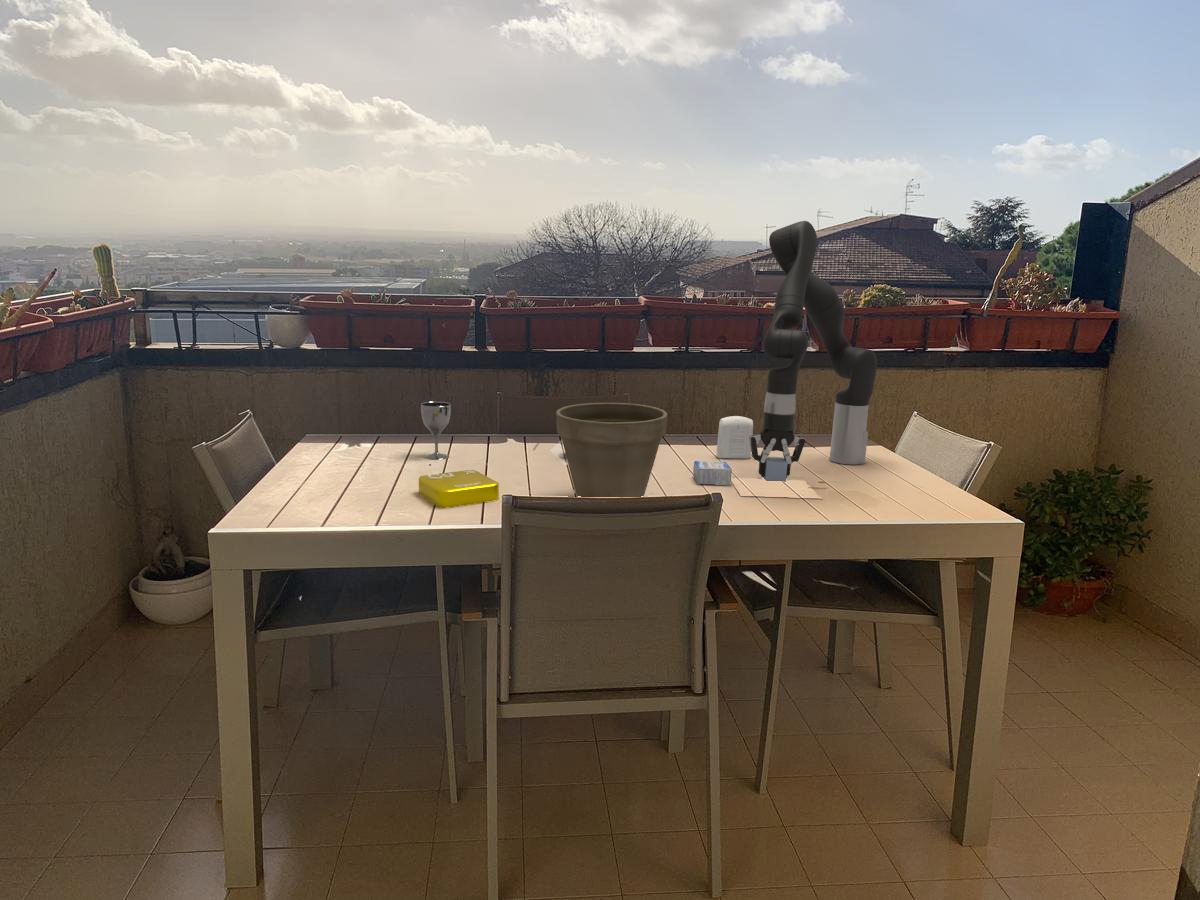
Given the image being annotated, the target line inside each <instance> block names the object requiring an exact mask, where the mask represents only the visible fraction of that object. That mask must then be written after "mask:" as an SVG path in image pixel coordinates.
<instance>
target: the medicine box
mask: <svg viewBox="0 0 1200 900" xmlns="http://www.w3.org/2000/svg"><path fill="white" fill-rule="evenodd" d="M732 470H733V469H732V467H731V466H730V465H729V463H728V462H727V461H714V460H713V461H712V460H711V461H710V460H709V461H708V460H695V461H694V462H693V470H692V472H693V474H692V475H693V478H694V480H695V482H696V483H697V485H700V484H715V485H714V486H730V485H731V483H732V482H731V477H732ZM716 484H718V485H716Z"/></svg>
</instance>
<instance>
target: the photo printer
mask: <svg viewBox="0 0 1200 900" xmlns="http://www.w3.org/2000/svg"><path fill="white" fill-rule="evenodd" d="M717 431H718V432H717V445H716V458H718V459H747V460H749V459H751V456H752V452H751V446H750V440H749V437H750V436H751V435H753V436H754V434H753V433H754V421H753V419H751V418H749V417H745V416H739V415H733V416H730V415H729V416H726V417H722V418H720V420H719V424H718V430H717Z"/></svg>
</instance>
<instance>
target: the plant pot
mask: <svg viewBox="0 0 1200 900" xmlns="http://www.w3.org/2000/svg"><path fill="white" fill-rule="evenodd" d="M555 417H556V419H555V420H556V432H557V434H558V435H559V436H560V437H561V441H562V445H563V449H564V452H565V453H564V454H565V457H566V460H567V461H566V462H567V463H568V464H567V465H568V469H569V473H570V477H571V480H572V484H573V488H574V491H575V495H576V497H577V496H581V497H641V496H644V497H645V493H646V490H647V487H648V483H649V480H650V477H651V474H652V471H653V467H654V464H655V460H656V458H657V454H658V450H659V447H660V444H661V439H662V438H663V437H664V436H665V435H666V431H667V422H668V413H667V411H665V410H664V409H661V408H658V407H654V406H653V405H652V406H651V405H645V404H637V403H625V402H589V403H577V404H573V405H567V406H563V407H561V408H559V409H557V410H556V412H555Z"/></svg>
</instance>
